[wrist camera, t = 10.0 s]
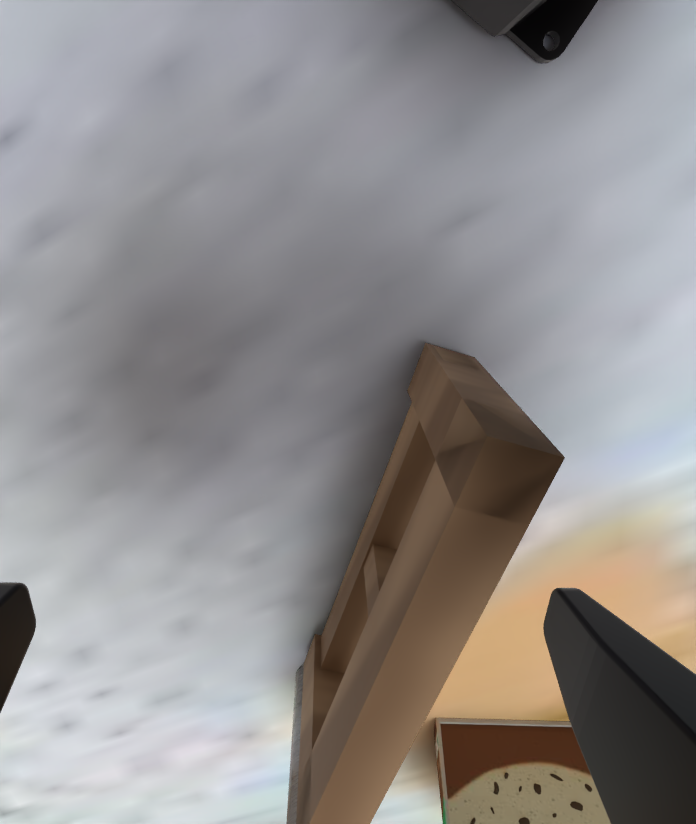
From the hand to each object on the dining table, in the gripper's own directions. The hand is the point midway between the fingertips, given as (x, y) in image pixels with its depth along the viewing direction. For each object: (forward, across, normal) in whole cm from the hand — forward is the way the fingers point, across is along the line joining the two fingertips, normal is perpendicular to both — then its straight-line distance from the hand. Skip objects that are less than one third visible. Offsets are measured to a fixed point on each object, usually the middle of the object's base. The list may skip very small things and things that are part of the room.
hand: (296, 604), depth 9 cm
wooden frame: (+12, -3, +7) cm, 14 cm away
